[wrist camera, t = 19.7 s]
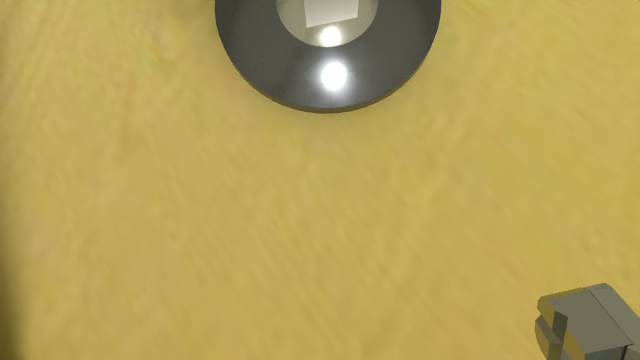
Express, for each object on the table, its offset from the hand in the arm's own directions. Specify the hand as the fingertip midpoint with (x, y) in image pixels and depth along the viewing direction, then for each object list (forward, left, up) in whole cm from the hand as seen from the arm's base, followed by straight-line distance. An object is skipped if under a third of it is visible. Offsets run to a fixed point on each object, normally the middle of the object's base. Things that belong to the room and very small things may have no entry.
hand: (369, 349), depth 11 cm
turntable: (+4, +25, -28) cm, 38 cm away
